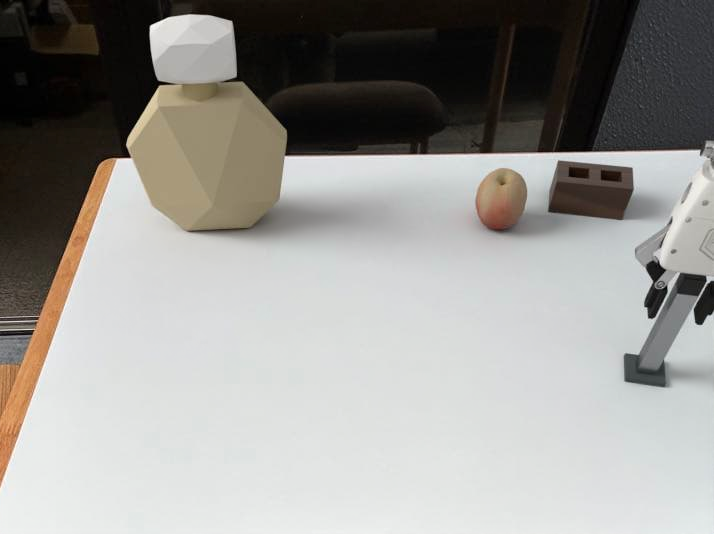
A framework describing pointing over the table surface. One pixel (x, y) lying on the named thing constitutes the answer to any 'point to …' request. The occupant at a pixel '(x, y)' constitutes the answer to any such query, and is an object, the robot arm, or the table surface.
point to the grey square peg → (669, 322)
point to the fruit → (501, 198)
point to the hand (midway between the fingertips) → (674, 313)
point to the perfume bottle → (205, 131)
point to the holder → (591, 189)
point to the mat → (640, 378)
